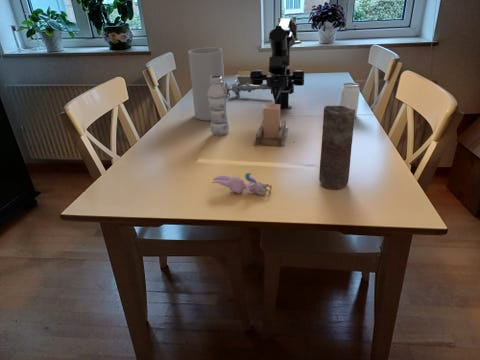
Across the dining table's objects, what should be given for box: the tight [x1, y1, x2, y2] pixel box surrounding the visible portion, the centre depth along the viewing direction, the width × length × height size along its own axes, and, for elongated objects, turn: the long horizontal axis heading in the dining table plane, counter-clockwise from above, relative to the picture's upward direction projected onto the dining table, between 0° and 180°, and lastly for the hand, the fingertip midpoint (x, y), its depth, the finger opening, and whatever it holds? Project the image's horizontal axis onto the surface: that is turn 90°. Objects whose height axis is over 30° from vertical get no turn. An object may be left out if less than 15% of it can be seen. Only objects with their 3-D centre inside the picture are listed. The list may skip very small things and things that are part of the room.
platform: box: [235, 70, 252, 85], centre depth 183 cm, size 12×18×7 cm, turn 77°
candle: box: [318, 105, 356, 190], centre depth 86 cm, size 8×7×20 cm
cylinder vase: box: [188, 47, 226, 122], centre depth 135 cm, size 12×12×25 cm
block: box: [262, 103, 281, 138], centre depth 116 cm, size 5×5×10 cm
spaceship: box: [224, 79, 271, 98], centre depth 161 cm, size 8×35×8 cm
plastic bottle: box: [208, 76, 230, 137], centre depth 118 cm, size 6×7×20 cm
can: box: [339, 82, 361, 118], centre depth 131 cm, size 6×6×12 cm
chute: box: [252, 119, 289, 148], centre depth 117 cm, size 16×10×4 cm, turn 168°
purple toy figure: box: [211, 172, 273, 197], centre depth 88 cm, size 6×6×15 cm
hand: (275, 99), depth 122 cm, fingers closed
